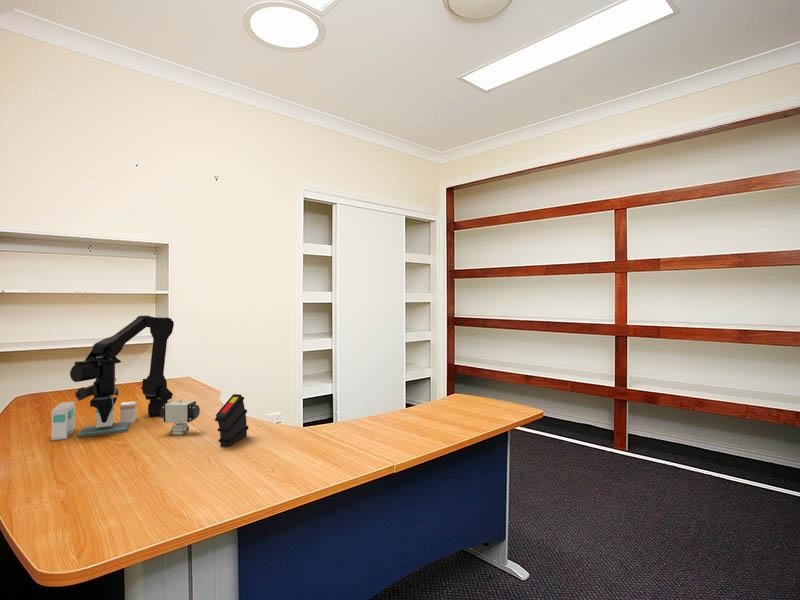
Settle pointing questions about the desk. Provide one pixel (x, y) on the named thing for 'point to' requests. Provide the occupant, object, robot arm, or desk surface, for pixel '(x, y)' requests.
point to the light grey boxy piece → (128, 412)
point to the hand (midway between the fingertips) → (105, 420)
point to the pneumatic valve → (179, 415)
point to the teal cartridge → (109, 420)
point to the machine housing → (63, 420)
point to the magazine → (232, 421)
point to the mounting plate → (104, 429)
